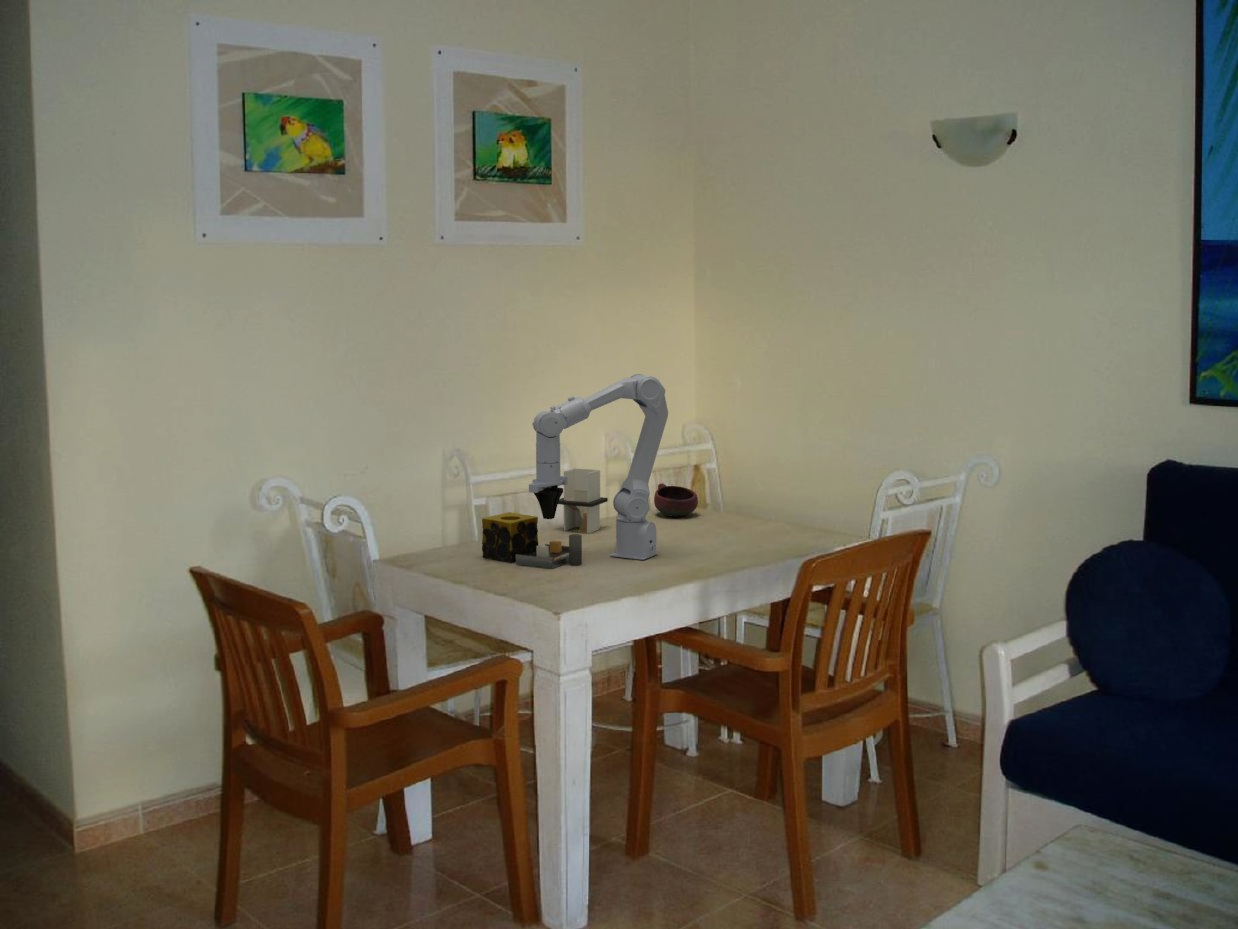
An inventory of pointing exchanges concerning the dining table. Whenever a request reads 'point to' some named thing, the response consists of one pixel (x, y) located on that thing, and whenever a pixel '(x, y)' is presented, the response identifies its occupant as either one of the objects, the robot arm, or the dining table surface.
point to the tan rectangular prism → (555, 546)
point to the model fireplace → (582, 500)
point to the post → (575, 549)
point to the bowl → (675, 500)
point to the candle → (509, 536)
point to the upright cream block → (542, 550)
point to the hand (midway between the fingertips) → (548, 518)
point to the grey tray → (544, 559)
